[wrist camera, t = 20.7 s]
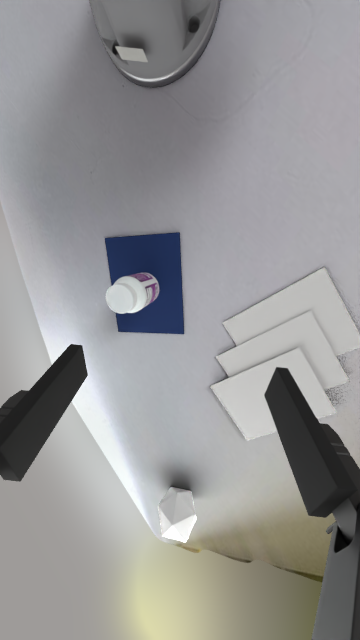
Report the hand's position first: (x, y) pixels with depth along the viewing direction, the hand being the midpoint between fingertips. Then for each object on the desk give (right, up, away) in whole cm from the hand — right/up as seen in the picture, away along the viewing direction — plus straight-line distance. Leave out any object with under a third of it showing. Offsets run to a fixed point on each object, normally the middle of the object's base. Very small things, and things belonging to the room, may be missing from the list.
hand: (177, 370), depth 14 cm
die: (0, -39, +36) cm, 53 cm away
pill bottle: (-6, +9, +22) cm, 24 cm away
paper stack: (+17, -5, +21) cm, 28 cm away
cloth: (-6, +9, +22) cm, 24 cm away
